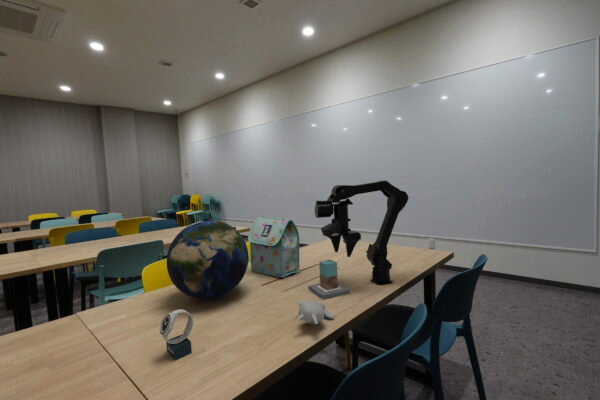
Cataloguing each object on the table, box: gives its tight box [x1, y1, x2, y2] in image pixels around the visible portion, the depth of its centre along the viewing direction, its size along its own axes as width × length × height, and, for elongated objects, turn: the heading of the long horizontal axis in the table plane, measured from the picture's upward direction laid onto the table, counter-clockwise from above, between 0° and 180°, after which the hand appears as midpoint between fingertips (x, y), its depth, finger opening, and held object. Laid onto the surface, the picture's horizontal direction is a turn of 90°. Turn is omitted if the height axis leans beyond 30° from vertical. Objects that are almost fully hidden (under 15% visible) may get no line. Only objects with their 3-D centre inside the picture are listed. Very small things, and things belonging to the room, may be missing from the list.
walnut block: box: [319, 273, 339, 290], centre depth 115 cm, size 5×5×5 cm
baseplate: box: [308, 282, 352, 300], centre depth 115 cm, size 12×12×2 cm
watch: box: [159, 308, 194, 361], centre depth 77 cm, size 6×8×11 cm
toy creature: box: [294, 299, 335, 326], centre depth 90 cm, size 13×7×20 cm
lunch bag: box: [247, 216, 301, 278], centre depth 142 cm, size 23×16×27 cm
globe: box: [166, 219, 250, 301], centre depth 114 cm, size 30×30×30 cm
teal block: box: [318, 259, 338, 277], centre depth 114 cm, size 5×5×5 cm
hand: (342, 254), depth 119 cm, fingers open, 9 cm apart
